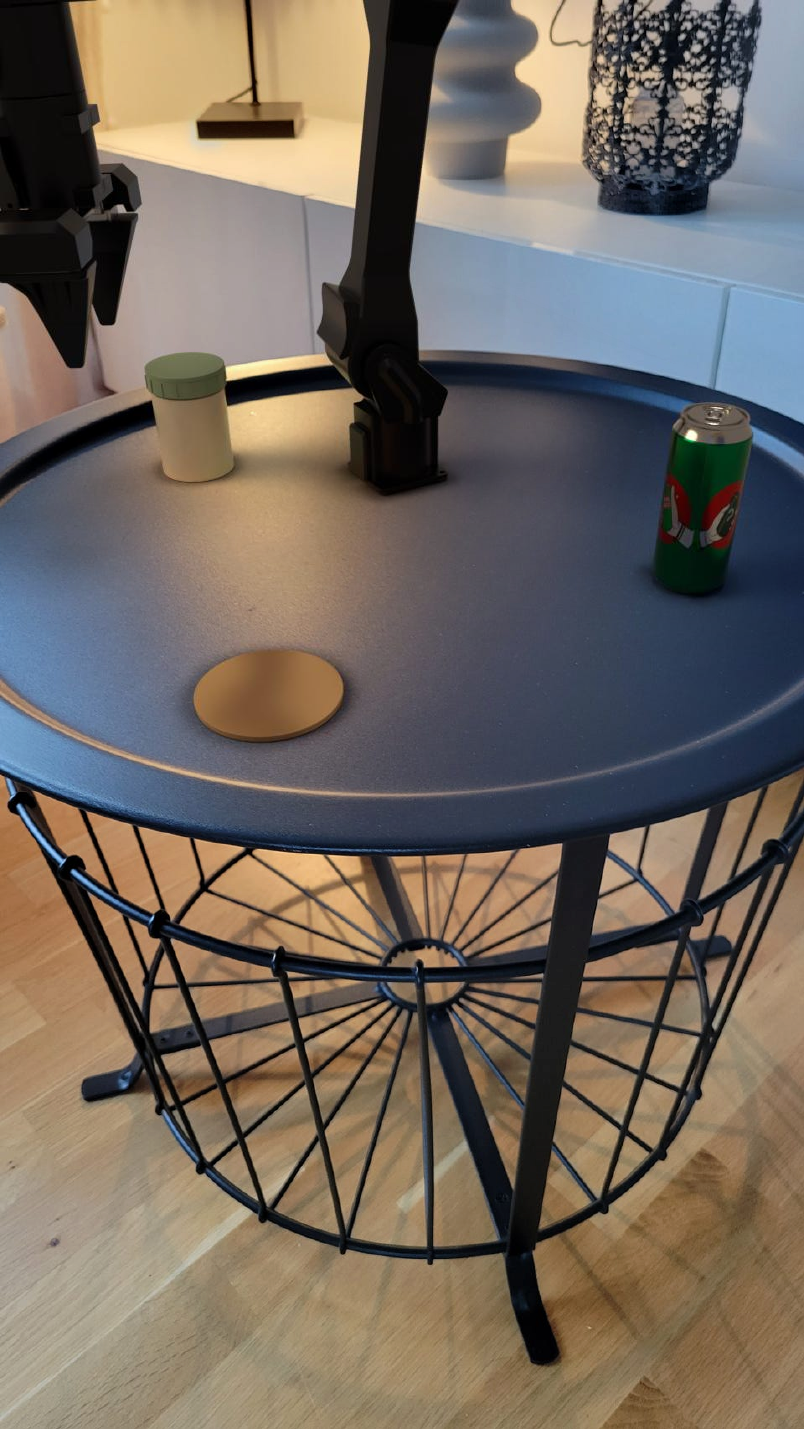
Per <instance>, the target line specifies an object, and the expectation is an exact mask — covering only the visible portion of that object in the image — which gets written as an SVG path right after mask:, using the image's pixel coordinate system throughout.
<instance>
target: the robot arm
mask: <svg viewBox="0 0 804 1429" xmlns="http://www.w3.org/2000/svg"><path fill="white" fill-rule="evenodd" d="M95 1H97V0H0V284H6V285H8V286H10V287H12V288H13V289H15V290H16V291H18V292H20V293H21V294H23V295H24V296H25V297H26V298H27V300H28V301H29V303H30V304H31V306H32V308H33V309H34V311H35V312H36V314H37V315H38V317H39V319H40V321H41V323H42V324H43V326H44V328H45V330H46V332H47V333H48V335H49V337H50V339H51V341H52V342H53V344H54V346H55V348H56V350H57V351H58V353H59V355H60V357H61V359H62V360H63V362H64V365H65V366H66V367H67V369H71V370H72V369H82V368H84V366H85V363H86V357H87V350H88V342H89V334H90V324H91V316H92V309H93V310H94V313H95V315H96V318H97V321H98V323H99V325H100V326H103V327H107V326H108V327H111V326H114V325H115V324H116V322H117V317H118V313H119V307H120V302H121V298H122V297H121V296H122V292H123V287H124V283H125V278H126V274H127V270H128V269H127V268H128V263H129V259H130V254H131V249H132V245H133V240H134V236H135V232H136V227H137V223H138V222H139V213H138V212H136V211H137V210H138V209H139V208H140V207H141V206H142V205H143V201H142V196H141V195H142V194H141V189H140V185H139V177H138V176H137V175H136V174H135V173H134V172H133V171H132V170H131V169H129V167H128V166H126V165H125V164H124V163H123V162H122V163H121V162H118V163H115V162H114V163H101V162H100V158H99V152H98V146H97V142H96V136H95V131H94V126H96V125H97V124H99V123H100V122H101V116H100V112H99V107H98V106H99V105H98V103H89V98H88V94H87V89H86V84H85V79H84V74H83V69H82V62H81V58H80V52H79V48H78V47H79V46H78V41H77V37H76V36H77V35H76V32H75V27H74V26H75V25H74V22H73V16H72V11H71V10H72V9H71V5H70V3H80V2H81V3H82V2H95ZM362 4H363V9H364V14H365V20H366V25H367V31H368V36H369V38H368V39H369V52H368V53H369V54H368V63H367V76H366V83H365V97H364V106H363V109H364V110H363V118H362V128H361V138H360V150H359V163H358V171H357V172H358V173H357V183H356V184H357V185H356V196H355V204H354V205H355V208H354V215H353V216H354V218H353V227H352V237H351V249H350V250H351V251H350V257H349V263H348V265H347V267H346V269H345V272H344V274H343V276H342V277H341V280H340V282H339V284H336V283H335V284H334V283H331V282H327V281H324V282H322V283H321V302H322V303H321V304H322V313H321V320H320V323H319V326H318V327H317V330H316V332H315V333H316V335H317V336H318V337H319V338H320V339H321V341H322V342H323V343H324V351H325V354H326V357H327V358H328V360H329V361H330V363H331V364H332V365H333V366H334V367H335V368H336V370H337V371H338V372H339V373H340V374H341V376H342V377H343V378H344V379H345V380H346V381H347V382H348V383H349V384H350V385H351V387H352V388H353V389H354V390H355V391H356V392H357V393H358V394H359V395H361V396H362V397H363V398H362V399H361V400H360V401H355V402H353V404H352V405H353V406H352V407H353V422H350V424H349V425H348V430H349V431H348V434H349V454H350V460H348V462H347V464H346V465H347V466H346V467H347V470H349V471H350V472H351V473H353V474H354V475H355V476H357V477H358V478H359V479H361V480H362V481H363V482H364V483H366V484H367V485H368V486H369V487H370V488H372V489H373V490H374V491H376V492H377V493H378V494H380V495H388V494H391V493H395V492H400V491H403V490H407V489H411V488H415V487H419V486H423V485H427V484H431V483H435V482H439V481H443V480H446V479H448V478H449V471H448V470H447V469H445V468H444V467H443V466H441V465H440V464H439V417H440V416H441V415H442V412H443V410H444V407H445V404H446V401H447V398H448V395H449V390H448V389H447V387H445V386H444V385H443V384H442V383H441V382H440V381H438V379H437V378H435V377H434V376H433V375H432V374H431V373H430V372H429V371H428V370H427V369H426V368H425V367H424V366H422V365H421V364H420V343H419V342H420V341H419V320H418V319H419V318H418V314H417V310H416V309H417V308H416V302H415V298H414V297H415V296H414V293H413V288H412V282H411V262H412V256H413V254H412V253H413V247H414V238H415V231H416V230H415V229H416V221H417V213H418V204H419V197H420V189H421V181H422V173H423V172H422V171H423V164H424V154H425V147H426V140H427V139H426V138H427V131H428V122H429V114H430V107H431V97H432V89H433V82H434V75H435V74H434V73H435V65H436V58H437V54H438V50H439V47H440V45H441V42H442V40H443V38H444V36H445V33H446V31H447V29H448V27H449V25H450V22H451V21H452V18H453V17H454V14H455V12H456V10H457V8H458V5H459V4H460V0H362ZM118 206H123V208H124V210H125V212H119V209H118Z"/></svg>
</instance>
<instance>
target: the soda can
mask: <svg viewBox="0 0 804 1429" xmlns="http://www.w3.org/2000/svg"><path fill="white" fill-rule="evenodd" d="M750 422H751V415H750V413H748V411H746V410H745V409H743V408H741V407H738V406H735V405H732V404H729V403H723V402H713V401H712V402H711V401H710V402H709V401H708V402H697V403H691V404H688V405H686V406H684V407H683V408H682V409H681V410H680V412H679V418H678V419H677V420H676V421H675V422H674V424H672V427H671V433H670V442H669V449H668V455H667V463H666V468H665V469H666V470H665V477H664V482H663V491H662V497H661V503H660V510H659V517H658V524H657V531H656V532H657V533H656V537H655V538H656V539H655V545H654V552H653V560H652V567H651V572H652V575H653V576H654V578H655V579H656V581H657V582H658V583H659V584H660V585H661V586H662V587H664V588H665V589H666V590H669V591H672V592H674V593H678V594H684V595H701V594H702V595H703V594H707V593H710V592H713V591H714V590H716V589H717V588H719V587H720V586H721V585H722V584H723V583H724V582H725V581H726V578H727V575H728V568H729V564H730V559H731V553H732V548H733V543H734V538H735V534H736V528H737V523H738V518H739V512H740V509H741V508H740V507H741V502H742V497H743V491H744V487H745V481H746V477H747V470H748V465H749V461H750V456H751V450H752V445H753V440H754V431H753V429H752V427H751V425H750Z"/></svg>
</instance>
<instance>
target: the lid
mask: <svg viewBox="0 0 804 1429" xmlns="http://www.w3.org/2000/svg"><path fill="white" fill-rule="evenodd" d="M227 380H228V377H227V367H226V365H225V361H224V359H223V358H222V357H220V356H218V355H216V354H213V353H207V352H201V351H185V352H176V353H170V354H165V355H162V356H159V357H156V358H153V359H152V360H150V361H148V362H147V363H146V364H145V365H144V381H145V387H146V389H147V390H148V392H149V393H150V394H151V393H152V394H154V395H156V396H159V397H163V398H170V399H189V398H197V397H202V396H206V395H210V394H213V393H215V392H218V391H219V390H221V389H222V388H224V387H225V388H226V386H227Z"/></svg>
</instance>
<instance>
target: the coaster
mask: <svg viewBox="0 0 804 1429" xmlns="http://www.w3.org/2000/svg"><path fill="white" fill-rule="evenodd" d="M344 690H345V689H344V681H343V679H342V677H341V675H340V673H339V672H338V670H337V669H336V668H335V667H334V666H333V665H332V664H331V663H329V662H328V661H326V660H325V659H322V658H320V657H318V656H316V655H314V654H311V653H307V652H303V651H298V650H291V649H264V650H256V651H251V652H247V653H243V654H239V655H236V656H233V657H231V658H229V659H226V660H224V661H222V662H221V663H219V664H217V665H215V666H214V667H212V668H211V669H210V670H209V671H208V672H206V673H205V674H204V675H203V676H202V677H201V679H200V680H199V681H198V683H197V685H196V686H195V689H194V692H193V693H194V694H193V707H194V711H195V713H196V715H197V717H198V719H199V720H200V721H201V723H202V724H203V725H204V726H206V727H207V728H208V729H209V730H211V731H213V732H214V733H216V734H217V735H220V736H223V737H226V738H229V739H233V740H237V741H242V742H252V743H253V742H254V743H267V742H269V743H270V742H279V741H283V740H289V739H293V738H296V737H300V736H302V735H305V734H307V733H310V732H312V731H314V730H316V729H318V728H319V727H321V726H322V725H324V724H326V723H327V722H328V721H329V720H331V719H332V718H333V717H334V715H336V713H337V712H338V710H339V709H340V707H341V705H342V703H343V701H344V694H345V691H344Z"/></svg>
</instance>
